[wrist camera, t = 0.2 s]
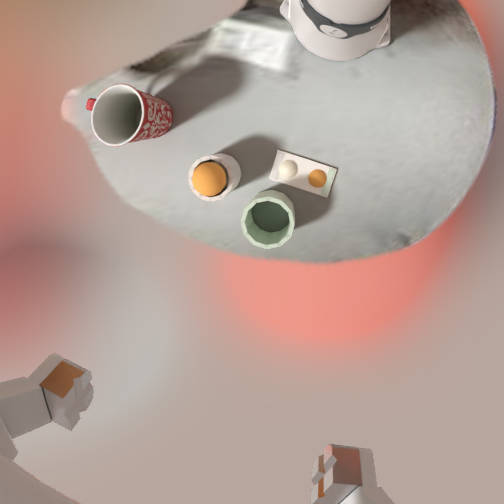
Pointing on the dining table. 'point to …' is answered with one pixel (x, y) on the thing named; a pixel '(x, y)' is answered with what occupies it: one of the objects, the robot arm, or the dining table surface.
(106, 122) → the mug
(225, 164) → the tube grey
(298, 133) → the dining table surface
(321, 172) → the card
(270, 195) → the tube green
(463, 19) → the dining table surface
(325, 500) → the robot arm
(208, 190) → the ball orange
